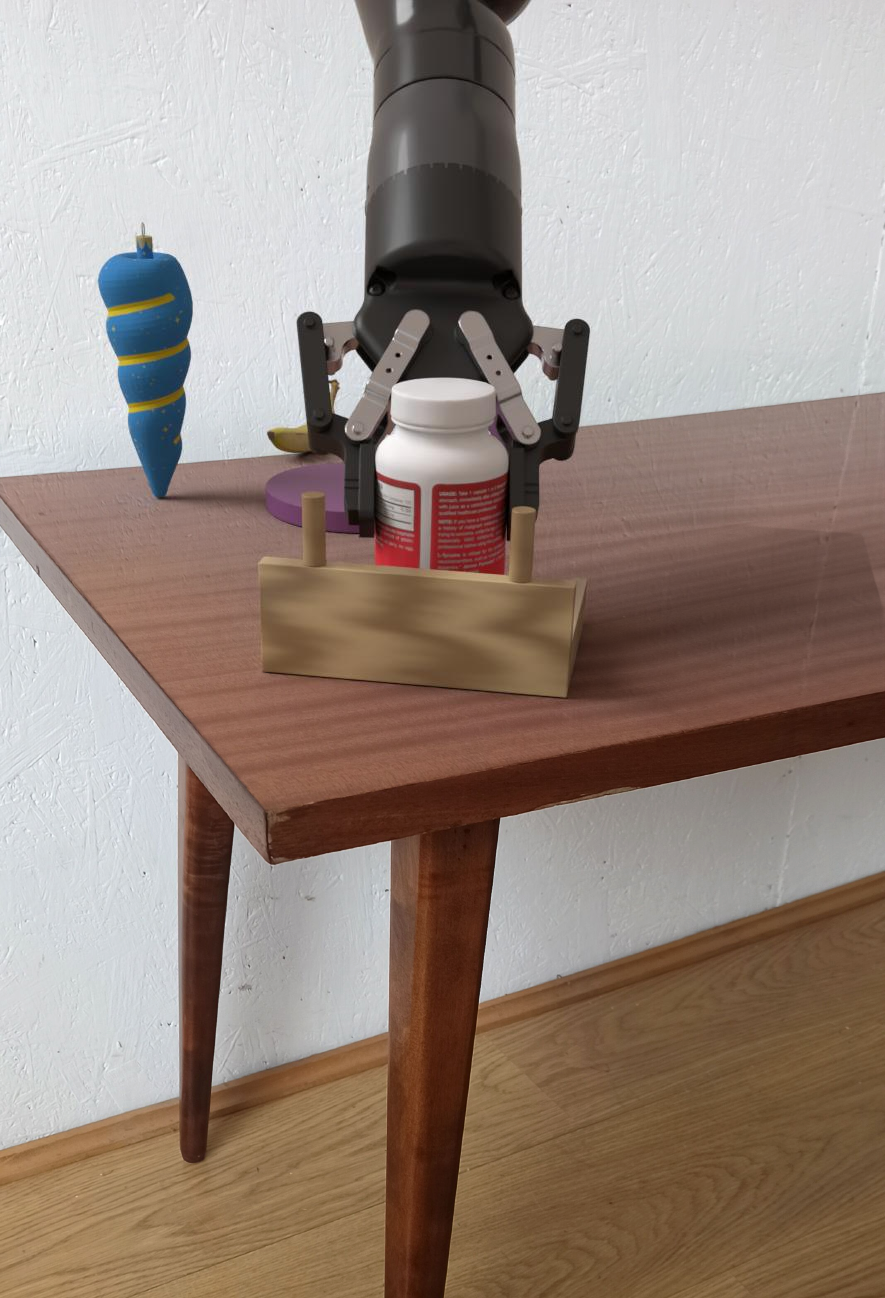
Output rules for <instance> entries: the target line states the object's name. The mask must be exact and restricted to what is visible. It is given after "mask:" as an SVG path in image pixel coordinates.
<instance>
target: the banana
mask: <svg viewBox="0 0 885 1298" xmlns="http://www.w3.org/2000/svg"><path fill="white" fill-rule="evenodd" d="M329 385H330V397H331V407H332V413H334V414H336V411H335V402H336V397H337V395H338V391H339V390H340V389H341V387H340V382H339V381H338V379H336V378H334V379H331V380H329ZM266 436H267V437H268V439H269V441H270V442H271V443H272V445H273V446H274V448H276V449H277V450H279V451H282V452H285V453H290V454H291V453H292V454H301V453H302V454H304V453H308V452H312V451H311V449H310V447H309V441H308V432H307V423H305V424H303V425H300V426H299V427H283V426H282V427H281V426H280V427H274V428H271V429H269V430H267V431H266Z"/></svg>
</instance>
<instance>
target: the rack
mask: <svg viewBox="0 0 885 1298" xmlns="http://www.w3.org/2000/svg"><path fill="white" fill-rule="evenodd" d="M535 517H536V510H535V509H534V508H531V507H525V506H520V507H515V508H513V509H512V518H511V537H510V541H509V555H508V557H509V558H508V575H507V574H504V575H497V574H484V573H471V572H458V571H445V570H432V569H420V568H407V567H394V566H381V565H375V564H369V563H368V564H367V563H366V564H365V563H354V562H343V561H329V560H327V539H326V538H327V536H326V535H327V534H326V532H327V531H326V521H325V494H324V493H322V492H317V491H309V492H304V493H302V527H301V528H302V529H301V531H302V532H301V533H302V535H301V536H302V537H301V539H302V559H301V558H288V557H278V556H277V557H275V556H263V557H262V558H261V559H260V561H259V562H258V563H257V568H258V569H257V570H258V592H259V593H258V594H259V596H258V597H259V598H258V599H259V620H260V621H259V623H260V625H259V626H260V647H261V648H260V651H261V652H260V653H261V671H262V672H264V673H276V674H289V675H299V676H310V677H311V676H312V677H321V678H322V677H324V678H334V679H346V680H355V681H356V680H358V681H369V682H379V683H389V684H390V683H393V684H402V685H403V684H404V685H412V686H413V685H414V686H426V687H438V688H449V689H459V690H473V691H482V692H483V691H484V692H485V691H486V692H495V693H505V694H506V693H508V694H518V695H529V696H541V697H553V698H564V699H565V698H567V697H568V692H569V688H570V683H571V679H572V674H573V672H574V667H575V666H574V665H575V661H576V658H577V653H578V648H579V644H580V641H581V635H582V631H583V626H584V621H585V614H586V613H585V611H586V600H587V589H588V588H587V586H588V579H587V578H585V577H584V578H583V577H571V578H570V579H558V578H548V577H546V578H545V577H534V576H533V567H534V566H533V564H534V550H535V549H534V547H535V530H536V522H535Z"/></svg>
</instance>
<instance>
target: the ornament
mask: <svg viewBox="0 0 885 1298" xmlns="http://www.w3.org/2000/svg"><path fill="white" fill-rule="evenodd" d="M140 225H141V227H140V228H141V234H140V235H135V238H134V239H135V248H136V251H131V252H123V253H118V254H115V255H113V256H112V257H110V258H108V259H107V260H106V261H105V262H104V264H103V265H102V266H101V268H100V271H99V273H98V277H97V285H98V290H99V294H100V296H101V299H102V302H103V304H104V306H105V307H106V310H107V312H108V313H107V317H106V320H105V330H106V335H107V339H108V341H109V343H110V345H111V348H112V350H113V352H114V354H115V356H116V359H117V360H118V366H117V380H118V384H119V387H120V391H121V393H122V396H123V397H124V401H125V403H126V405H127V408H128V414H127V425H128V431H129V434H130V438H131V441H132V443H133V446H134V449H135V452H136V454H137V457H138V459H139V461H140V465H141V467H142V469H143V472H144V474H145V478H146V479H147V483H148V485H149V488H150V490H151V493H152V494H153V496H154V497H156V498H158V499H159V498H160V499H161V498H163V497H165V496H166V495H167V494H168V490H169V487H170V484H171V481H172V479H173V476H174V473H175V472H176V469H177V467H178V464H179V462H180V459H181V456H182V452H183V438H182V428H183V424H184V421H185V415H186V409H187V395H186V391H185V387H184V385H185V381H186V379H187V375H188V373H189V370H190V365H191V361H192V360H191V359H192V349H191V345H190V344H191V343H190V341H189V338H188V335H189V332H190V329H191V326H192V322H193V316H194V315H193V314H194V301H193V296H192V291H191V288H190V285H189V281H188V279H187V276H186V273H185V271H184V269H183V267H182V264H181V263H180V262H179V260H178V259H177V257H175V256H173V254H169V253H164V252H158V251H157V252H155V251H154V250H153V249H154V244H153V236H152V235H149V234H148V235H147V234H146V228H145V227H146V226H145V223H144V222H141V224H140Z"/></svg>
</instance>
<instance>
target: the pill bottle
mask: <svg viewBox="0 0 885 1298" xmlns="http://www.w3.org/2000/svg"><path fill="white" fill-rule="evenodd" d="M390 413H391V416H392V417H391V420H392V421H393V422H394V423H395V424H396V426H395V430H394V432H392V433H391V434H390V435H387V436H386V437H385V439H384V440H383V441H382V442H381V443H380V444H379V446H378V448H377V450H376V454H375V533H374V565H381V566H394V567H407V568H420V569H432V570H445V571H458V572H471V573H484V574H497V575H505V572H506V571H505V569H506V568H505V567H506V547H507V545H506V544H507V538H506V522H507V498H508V476H509V460H508V454H507V451H506V449H505V447H504V446H503V444H502V443H501V442H500V441H499V440H498V439H497V438H496V437H494V436H493V435H491V434H490V432H489V430H488V426H490V425H491V424H493V422H494V417H495V416H496V391H495V388H494V387H493V386H492V385H490V384H488V383H485V382H481V381H476V380H470V379H461V378H424V379H414V380H409V381H404V382H400V383H397V384H395V385H394V386H393V387H392V394H391V412H390Z"/></svg>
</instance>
